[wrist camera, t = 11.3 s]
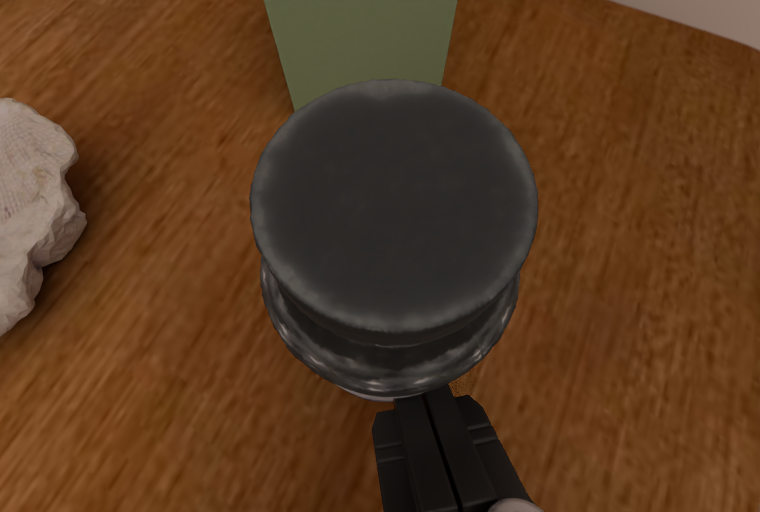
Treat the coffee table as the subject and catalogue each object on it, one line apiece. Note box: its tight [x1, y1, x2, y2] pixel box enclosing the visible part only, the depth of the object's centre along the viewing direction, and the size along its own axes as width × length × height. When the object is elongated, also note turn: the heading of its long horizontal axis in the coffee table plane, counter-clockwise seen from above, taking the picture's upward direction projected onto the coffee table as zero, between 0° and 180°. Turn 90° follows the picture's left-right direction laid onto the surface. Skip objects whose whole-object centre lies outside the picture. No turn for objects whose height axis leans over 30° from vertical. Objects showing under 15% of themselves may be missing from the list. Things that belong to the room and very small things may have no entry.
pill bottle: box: [249, 78, 538, 402], centre depth 11 cm, size 6×6×11 cm
